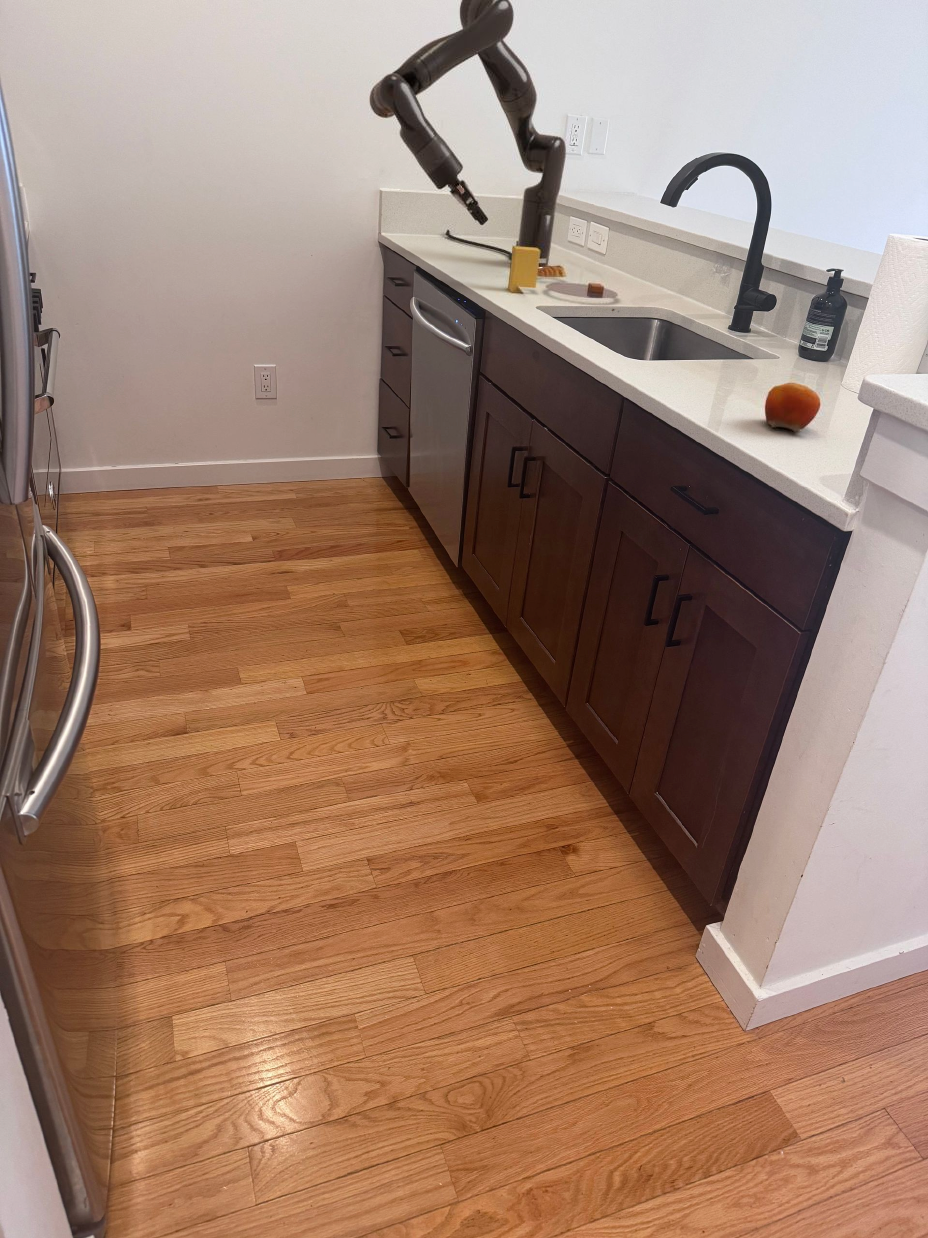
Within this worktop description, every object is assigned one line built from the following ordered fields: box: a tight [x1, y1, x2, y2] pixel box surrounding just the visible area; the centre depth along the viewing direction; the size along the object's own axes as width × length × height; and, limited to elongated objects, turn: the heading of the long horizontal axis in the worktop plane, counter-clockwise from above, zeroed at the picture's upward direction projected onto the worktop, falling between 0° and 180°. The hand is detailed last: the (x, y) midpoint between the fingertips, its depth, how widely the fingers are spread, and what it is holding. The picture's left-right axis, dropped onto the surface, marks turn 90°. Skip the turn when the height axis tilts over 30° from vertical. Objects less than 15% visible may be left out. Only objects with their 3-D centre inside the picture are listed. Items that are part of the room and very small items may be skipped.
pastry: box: [537, 264, 567, 278], centre depth 233 cm, size 9×7×4 cm
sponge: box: [507, 245, 540, 294], centre depth 214 cm, size 4×6×10 cm
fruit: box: [764, 382, 821, 436], centre depth 136 cm, size 8×8×8 cm
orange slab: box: [587, 282, 605, 293], centre depth 218 cm, size 4×3×2 cm
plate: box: [545, 282, 619, 299], centre depth 218 cm, size 18×18×2 cm
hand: (482, 220), depth 207 cm, fingers open, 8 cm apart
